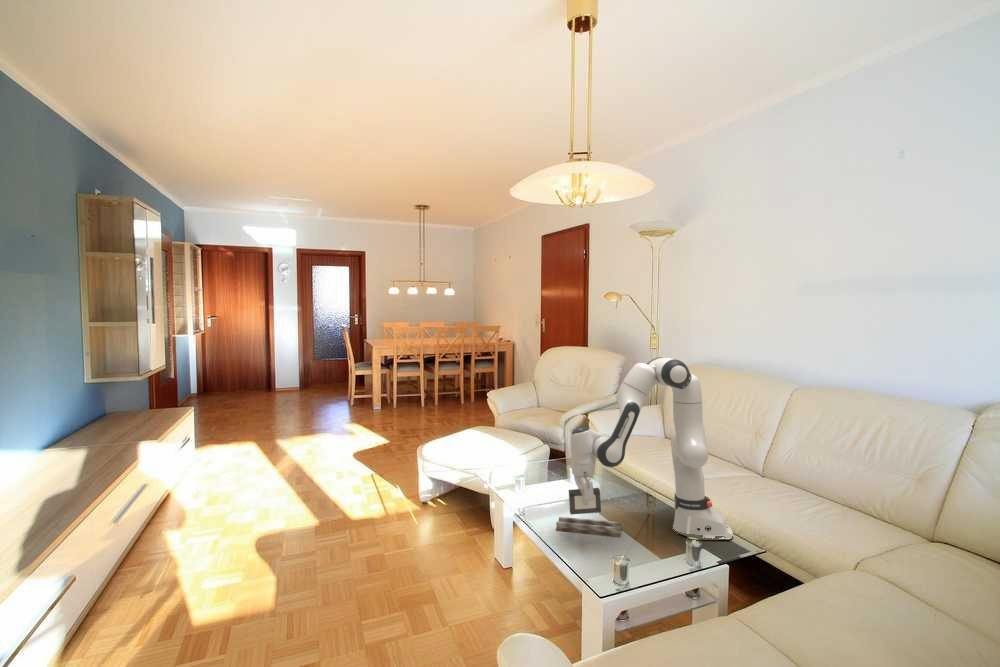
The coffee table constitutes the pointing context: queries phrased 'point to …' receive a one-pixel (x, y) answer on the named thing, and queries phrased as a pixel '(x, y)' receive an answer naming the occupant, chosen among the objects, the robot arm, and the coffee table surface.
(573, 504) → the frame
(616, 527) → the ledge
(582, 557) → the coffee table surface
